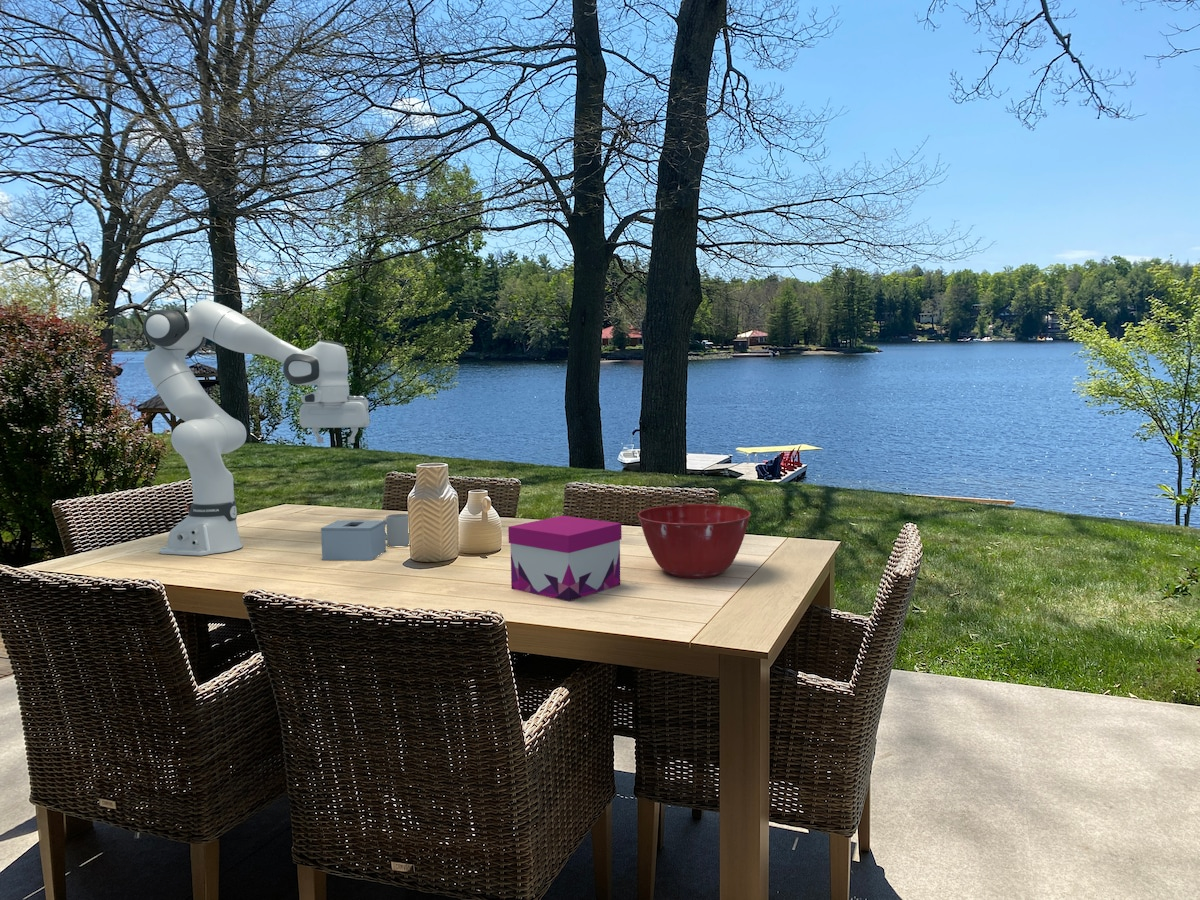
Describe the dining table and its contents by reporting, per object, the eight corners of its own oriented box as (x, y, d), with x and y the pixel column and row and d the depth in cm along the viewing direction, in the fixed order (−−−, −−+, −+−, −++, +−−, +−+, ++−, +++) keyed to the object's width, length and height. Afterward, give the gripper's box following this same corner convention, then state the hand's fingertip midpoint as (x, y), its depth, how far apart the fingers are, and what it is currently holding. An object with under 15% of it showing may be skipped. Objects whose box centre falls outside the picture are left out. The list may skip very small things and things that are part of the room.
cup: (404, 548, 247) (403, 518, 247) (374, 546, 250) (373, 517, 249) (416, 543, 254) (415, 514, 253) (386, 541, 257) (385, 513, 256)
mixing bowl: (660, 590, 196) (659, 525, 194) (624, 564, 223) (623, 506, 222) (770, 581, 203) (770, 518, 202) (722, 556, 231) (722, 501, 229)
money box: (322, 560, 232) (321, 528, 231) (338, 551, 244) (337, 520, 243) (371, 560, 231) (370, 528, 230) (385, 551, 243) (384, 520, 242)
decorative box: (563, 573, 213) (562, 515, 212) (622, 585, 201) (621, 523, 200) (509, 589, 199) (508, 526, 197) (569, 602, 187) (568, 535, 185)
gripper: (371, 395, 249) (373, 441, 250) (304, 396, 250) (307, 442, 251) (364, 396, 242) (366, 443, 244) (295, 396, 244) (298, 444, 245)
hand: (335, 443), depth 247 cm, fingers open, 8 cm apart
